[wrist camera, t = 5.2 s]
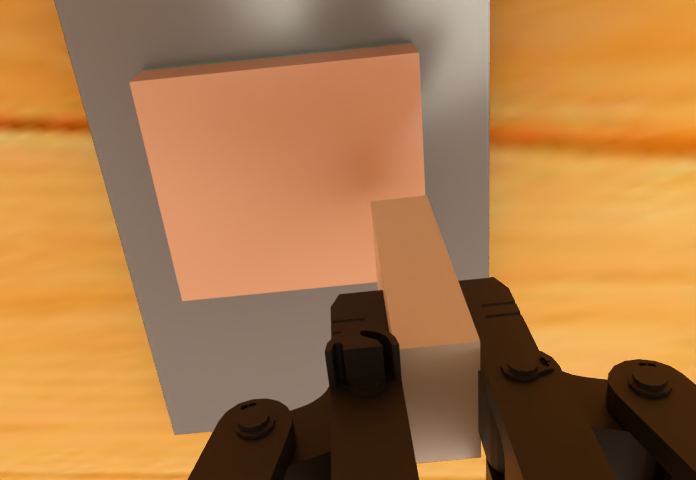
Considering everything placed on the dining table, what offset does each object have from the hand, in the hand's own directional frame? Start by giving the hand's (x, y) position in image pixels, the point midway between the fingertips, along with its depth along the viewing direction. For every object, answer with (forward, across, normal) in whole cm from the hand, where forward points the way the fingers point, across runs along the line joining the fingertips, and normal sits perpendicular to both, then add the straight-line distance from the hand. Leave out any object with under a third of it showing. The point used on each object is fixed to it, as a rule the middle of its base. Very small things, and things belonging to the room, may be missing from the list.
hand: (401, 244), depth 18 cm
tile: (+6, +1, 0) cm, 6 cm away
